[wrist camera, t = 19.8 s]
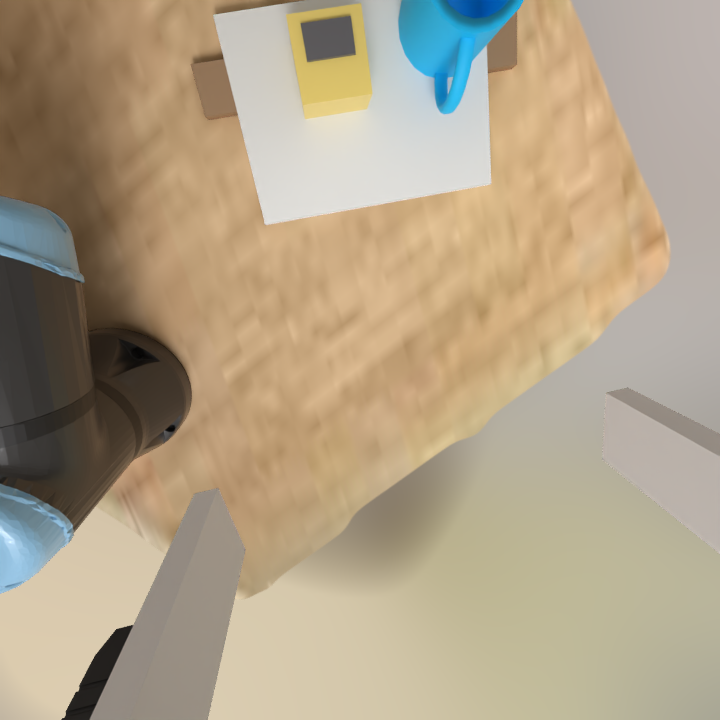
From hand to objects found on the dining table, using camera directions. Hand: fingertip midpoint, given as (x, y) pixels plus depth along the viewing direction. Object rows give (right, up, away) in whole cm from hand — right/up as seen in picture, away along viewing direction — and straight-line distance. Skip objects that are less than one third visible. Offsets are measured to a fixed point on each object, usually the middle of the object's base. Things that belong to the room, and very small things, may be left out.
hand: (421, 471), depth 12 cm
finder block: (-5, +30, +21) cm, 37 cm away
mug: (+5, +32, +21) cm, 39 cm away
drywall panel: (-2, +28, +23) cm, 36 cm away
